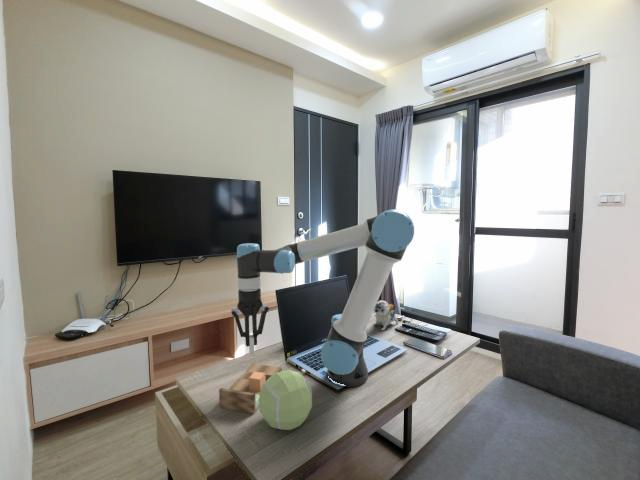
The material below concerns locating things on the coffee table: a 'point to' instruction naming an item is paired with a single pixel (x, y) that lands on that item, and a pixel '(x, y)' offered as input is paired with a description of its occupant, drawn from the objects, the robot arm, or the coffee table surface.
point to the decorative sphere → (285, 400)
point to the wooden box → (245, 390)
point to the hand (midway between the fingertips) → (251, 354)
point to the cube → (257, 381)
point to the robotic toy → (384, 314)
